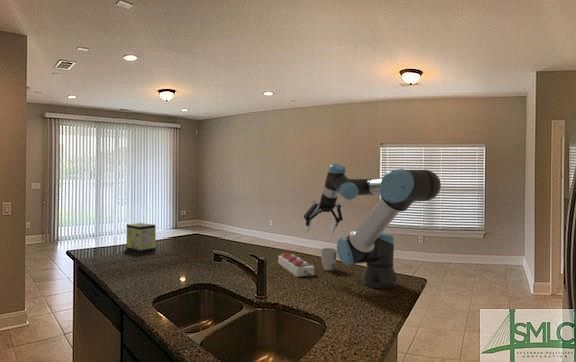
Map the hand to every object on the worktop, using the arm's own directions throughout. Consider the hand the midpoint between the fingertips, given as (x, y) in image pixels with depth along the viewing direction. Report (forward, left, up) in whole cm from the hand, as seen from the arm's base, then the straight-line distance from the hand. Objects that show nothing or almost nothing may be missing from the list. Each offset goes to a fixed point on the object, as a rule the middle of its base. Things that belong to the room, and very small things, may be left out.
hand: (319, 231), depth 200 cm
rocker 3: (-3, +13, -14) cm, 19 cm away
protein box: (+77, +86, -20) cm, 117 cm away
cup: (0, -5, -20) cm, 21 cm away
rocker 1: (+15, +13, -14) cm, 25 cm away
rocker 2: (+6, +13, -14) cm, 20 cm away
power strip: (+3, +11, -20) cm, 23 cm away
